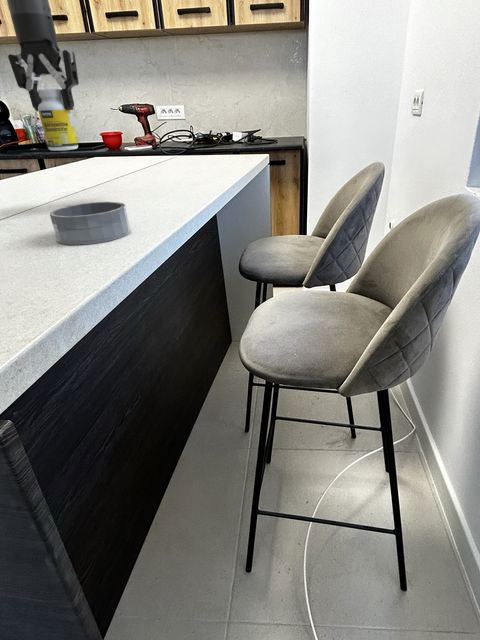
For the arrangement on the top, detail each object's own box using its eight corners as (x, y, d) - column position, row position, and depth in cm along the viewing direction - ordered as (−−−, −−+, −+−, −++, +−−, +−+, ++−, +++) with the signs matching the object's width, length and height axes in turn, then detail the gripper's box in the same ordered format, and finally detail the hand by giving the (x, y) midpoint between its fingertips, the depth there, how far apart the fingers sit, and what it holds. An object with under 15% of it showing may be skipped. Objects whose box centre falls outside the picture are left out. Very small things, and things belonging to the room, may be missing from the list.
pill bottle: (42, 151, 95) (26, 89, 89) (59, 148, 100) (44, 90, 95) (69, 150, 94) (54, 88, 88) (84, 148, 99) (71, 89, 93)
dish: (42, 244, 71) (33, 217, 69) (81, 226, 82) (75, 202, 79) (109, 245, 69) (102, 216, 67) (141, 226, 79) (136, 201, 77)
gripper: (-15, 14, 83) (14, 112, 91) (52, 7, 80) (75, 109, 89) (12, 20, 89) (36, 112, 98) (74, 14, 87) (93, 109, 95)
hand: (54, 110), depth 93 cm, fingers closed on pill bottle, 6 cm apart
